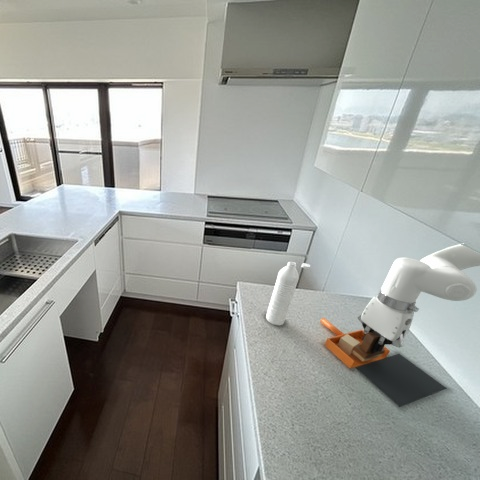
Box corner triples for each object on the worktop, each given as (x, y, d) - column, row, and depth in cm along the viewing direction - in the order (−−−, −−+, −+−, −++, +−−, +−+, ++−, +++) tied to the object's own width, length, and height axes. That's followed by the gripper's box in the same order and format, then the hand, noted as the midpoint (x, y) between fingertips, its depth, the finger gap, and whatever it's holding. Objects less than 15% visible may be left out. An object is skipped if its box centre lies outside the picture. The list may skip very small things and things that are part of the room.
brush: (370, 347, 84) (380, 326, 80) (382, 356, 81) (393, 335, 77) (351, 352, 82) (361, 331, 78) (362, 362, 78) (373, 341, 75)
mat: (398, 354, 84) (399, 353, 84) (446, 388, 74) (446, 388, 74) (354, 367, 79) (354, 367, 79) (399, 407, 68) (399, 406, 68)
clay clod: (343, 342, 87) (347, 334, 86) (355, 351, 84) (360, 342, 82) (336, 346, 86) (340, 337, 84) (349, 355, 82) (353, 346, 81)
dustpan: (385, 358, 83) (390, 350, 81) (350, 369, 78) (354, 361, 77) (335, 319, 98) (338, 312, 97) (303, 326, 94) (305, 319, 93)
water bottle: (266, 323, 94) (283, 265, 84) (265, 312, 100) (280, 256, 90) (291, 329, 92) (312, 270, 82) (288, 317, 98) (308, 261, 88)
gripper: (438, 316, 66) (407, 365, 74) (375, 282, 80) (354, 327, 88) (419, 321, 64) (389, 372, 72) (357, 285, 78) (338, 331, 86)
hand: (370, 347), depth 80 cm, fingers closed on brush, 2 cm apart
